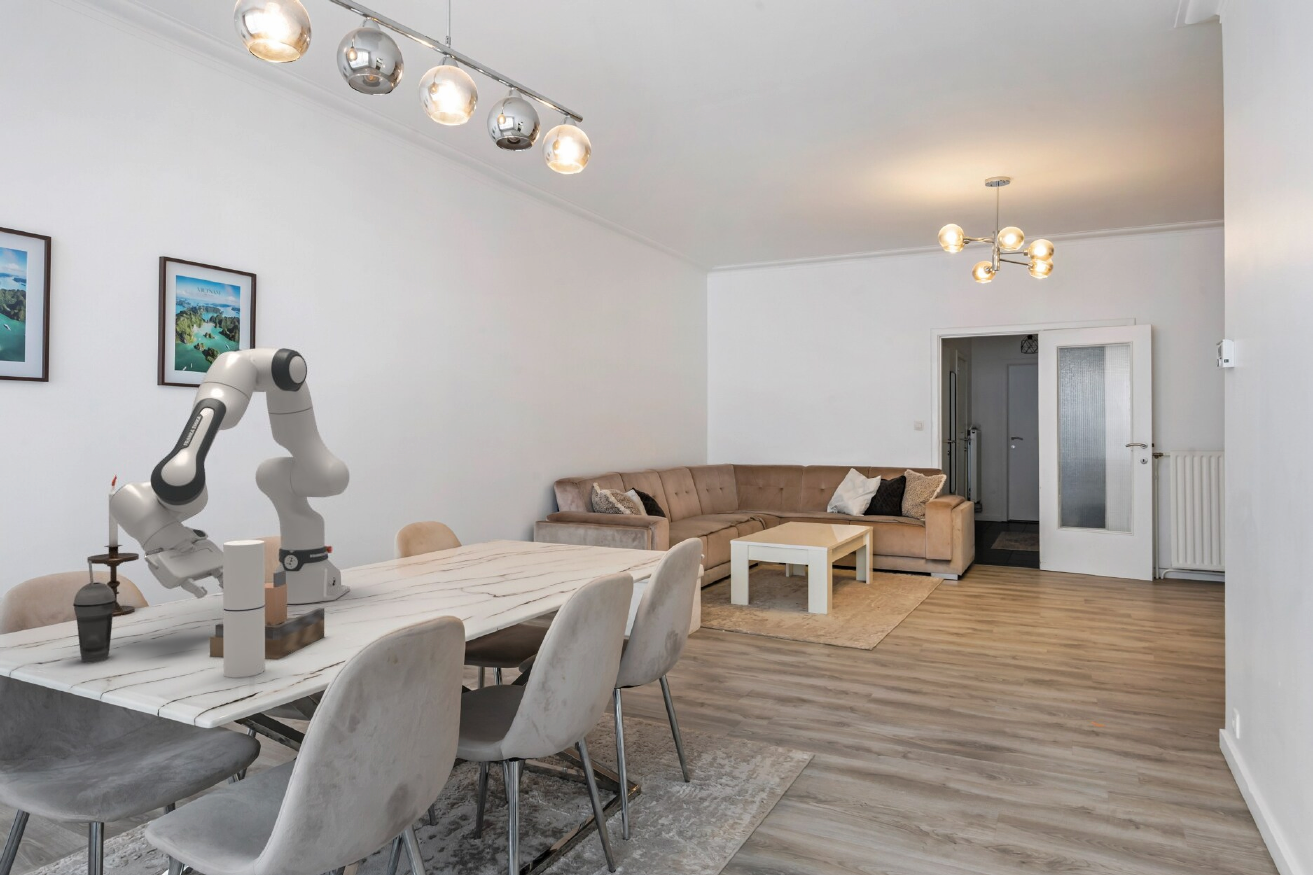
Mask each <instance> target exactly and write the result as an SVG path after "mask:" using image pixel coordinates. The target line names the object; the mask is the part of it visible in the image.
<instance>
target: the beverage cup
mask: <svg viewBox="0 0 1313 875" xmlns="http://www.w3.org/2000/svg"><path fill="white" fill-rule="evenodd" d="M87 564H88V570H89V571H88V572H89V580H90V581H89V582H90V583H88V584H85V585H84V586H81V588H80V589H78V591H77V592H76V594H75V596H74V601H73V605H72V606H73V609H74V613H75V616H76V625H77V634H78V636H77V637H78V644H79V653H80V658H81V663H85V662H91V663H98V662H103V661H106V660H108V659H109V654H110V651H111V650H110V649H111V639H112V630H113V628H112V627H113V612H114V608H115V602H116V599H115V594H114V592H113V590H112V589H111V588H110V587H109V586H108V585H107V583H104V582H99V581H98V582H94V573H93V565H92V563H91V561H88V562H87Z"/></svg>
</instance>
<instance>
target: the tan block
mask: <svg viewBox="0 0 1313 875" xmlns="http://www.w3.org/2000/svg"><path fill="white" fill-rule="evenodd" d="M272 575H273V582H272V583H271V582H265V625H269V626H275V625H277V624H282V623H284V622H285V621H286V620H287V618H288V604H287V583H286V570H282V571H279V572H276V573H275V572H273V574H272Z"/></svg>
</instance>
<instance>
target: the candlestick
mask: <svg viewBox="0 0 1313 875" xmlns="http://www.w3.org/2000/svg"><path fill="white" fill-rule="evenodd" d="M117 478H118V477H117V474H115V476H114V477H113V479H112V482H111V489H110V492H109V493H108V506H109V505H110V501H111V499H112V497H113V495H114V494H115V493H116V492H117V491H116V488H115V485H116V483H117V482H116V480H117ZM118 529H119V524H118V523H117V521H116V520H115V519H114V517H113V516H112V514H111V512H110V509H109V508H108V545H105V546H104V545H103V547H104V548H108V553H103V554H96V555H91V556H88V557H87V559H86V560H87V563H88V561H91V563H92V564H93V565H94V564H96V565H102V564H103V565H105V566H106V567H109V570H110V572H109V573H110V574H109V576H110V577H109V578H110V580H109V581H107V583H106V585H108V586H109V587H110V588H111V589H112V590H113V592H114V594H115V599H116V602H115V608H114V612H113V617H121V615H122V616H126V615H130V614H133V613H135V612H136V611H135V610H136V609H135V608H136V607H135V606H134V605H120V604H119V602H118V600H117V599H118V598H117V597H118V596H117V595H119V594H120V591H118V587H120V584H121V581H119V580H117V579H118V576H117V575H118V574H117V573H118V572H117V571H118V569H117V567H118V566H120V564H123V563H129V562H134V561H137V560H139V559H140V555H139V553H135V552H119V547H122V546H124V545H123V544H119V542H118V541H119V535H118V534H119V533H118V532H119V530H118Z"/></svg>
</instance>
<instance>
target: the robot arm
mask: <svg viewBox="0 0 1313 875" xmlns="http://www.w3.org/2000/svg"><path fill="white" fill-rule="evenodd" d="M307 375H308V365H307V362H306V359H305V358H304V357H303V355H301V353H300V352H299V351H297V350H295V349H294V350H293V349H291V348H284V347H283V348H274V347H257V348H249V349H240V348H239V349H238V348H237V349H231V350H230V351H225V352H223V353H221V354H219V355H218V356H217V357H216V359H215V360H214V361H213V362H212V363H211V365H210V366H209V368H208V370H207V371H206V373H205V375H204V377H203V379H202V380H201V383H200V385H199V387H198V390H197V392H196V396H195V397H194V400H193V404H192V409H191V413H190V416H189V418H188V420H187V422H186V424H185V426H184V428H183V429H182V432H181V434H180V436H179V437H178V440H177V442H176V444H175V445H174V447H173V448H172V450H171V451H170V452H169V453H168V454H167V455H166V456H165V457H164V458H162V459H161V460H160V461H159V462H158V463H157V464H156V465H155V466H154V468H153V469H152V471H151V474H150V480H149V481H141V482H140V481H131V482H128V483H126V484H124V485H123V486H121V487H119V489H118V490H117V491H116V493H115V494H114V495H113V497H112V499H111V501H110V505H109V504H108V510H109V509H110V512H111V514H112V516H113V517H114V519H115V520H116V521H117V523H118V526H120V527H121V529H122V530H123V531H124V532H125V533H126V534H127V535H128V536H130V537H131V538H133V539H134V540H136V541H137V542H138V544H139V545H140V547H141V549H142V550H143V551H144V561H145V562H146V563H147V567H148V569H149V571H150V573H151V574H152V575H153V576H154V577H155V579H156V580H157V581H158V582H159V583H160V585H162V586H163V587H164V588H166V589H167V590H173V589H175V588H177V587H181V588H182V589H183V590H185V591H186V592H188V593H191V594H193V596H195V597H196V599H198V600H199V599H202V598H205V596H206V595H208V593H209V592H208V590H207V589H206V588H205V587H204V586H203V585H202V586H199V585H198V584H197V583H196V582H197V581H200V580H203V579H207V578H210V577H213V578H214V579H217V581H218V583H219V584H218V586H219V587H220V588H221V589H222V590H223V550H222V549H221V548H219V546H217V544H216V543H214V542H213V541H212V540H210V539H208V538H209V534H208V533H207V532H206V531H205V530H202V529H197V528H192V527H189V526H185V525H184V524H183V522H184V521H187V520H188V519H190V518H192V517H194V516H196V515H197V514H200V513H201V512H202V511H203V510H204V509H205V507H206V505H207V504H208V500H209V493H208V487H207V481H206V469H205V461H206V458H207V456H208V454H209V452H210V449H211V447H212V445H213V444H214V441H215V439H216V437H217V436H218V433H219V431H225V430H229V429H233V428H235V427H237V425H238V424H239V422H241V420H242V418H243V417H244V415H245V413H246V412H247V409H248V407H249V404H250V402H251V398H252V396H253V393H265V396H266V397H265V398H266V406H267V412H268V417H269V418H268V419H269V424H270V429H271V434H272V439H273V440H274V441H275V442H276V444H278V445H279V446H281V447H283V448H284V449H286V450H287V451H288V452H289V453H290V455H291V456H278V457H273V458H268V459H265V460H263V461H261V462H260V464H259V466H257V469H256V472H255V483H256V486H257V488H258V489H259V490H260V492H261V493H262V494H264V495H265V496H267V498H268V499H269V500H270V501H271V503H272V505H273V507H274V509H275V511H276V513H277V516H278V522H279V530H280V533H279V534H280V548H279V549H278V562H279V565H278V566H277V567H276V568H275V572H274V573H276V572H279V571H282V570H286V583H287V605H290V604H291V605H292V604H293V605H295V604H311V603H312V604H313V603H318V602H327V601H336V600H338V598H340V597H342V596H344V595H345V594H346V593H348V592H349V591H351V587H350V586H349V585H342V574H341V571H340V569H339V568H337V567H336V566H335V564H334V563H332V562H331V561H330V560H329V555H328V554H332V552H333V546H332V545H325V544H326V543H325V519H324V517H323V516H322V515H321V514H320V513H319V512H317V511H315V510H314V509H313V508H312V507H311V505H310V504H309V501H308V498H328V497H334V496H338V495H341V494H342V493H344V491H346V489H347V487H348V486H349V483H350V471H349V468H348V466H347V465H346V463H345V462H344V461H343V460H341V459H339V458H338V457H337V456H335V455H334V454H333V453H332V452H331V451H330V449H328V447H327V446H326V444H325V443H324V441H323V440H322V438H321V435H320V432H319V430H318V425H317V422H316V417H315V412H314V406H313V400H312V396H311V392H310V389H309V385H308V383H307V380H306V379H307Z"/></svg>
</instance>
